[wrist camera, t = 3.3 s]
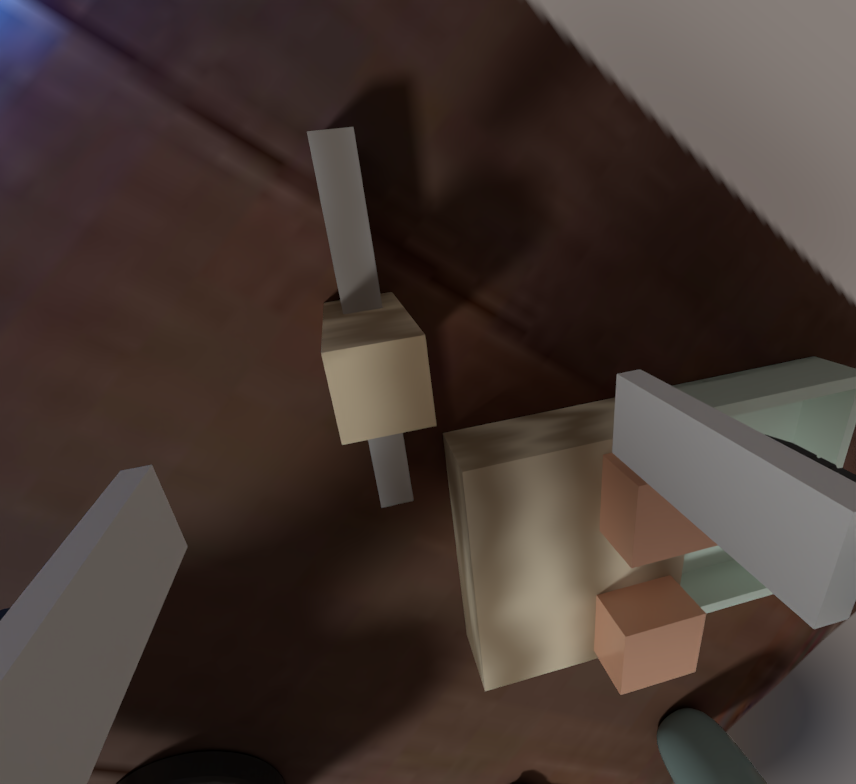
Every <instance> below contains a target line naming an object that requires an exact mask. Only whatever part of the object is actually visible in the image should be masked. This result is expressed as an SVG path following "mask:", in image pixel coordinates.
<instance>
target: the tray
mask: <svg viewBox="0 0 856 784" xmlns="http://www.w3.org/2000/svg"><path fill="white" fill-rule="evenodd" d="M673 387H675V388H677V389H679V390H681V391H682V392H684V393H686V394H688V395H690V396H692V397H694V398H696V399H698V400H700V401H701V402H703V403H705V404H707V405H709V406H711V407H713V408H715V409H717V410H719V411H721V412H722V413H724V414H726V415H728V416H730V417H732V418H734V419H736V420H738V421H740V422H741V423H743V424H745V425H747V426H749V427H751V428H753V429H755V430H757V431H759V432H761V433H762V434H764V435H769V436H772V437H775V438H778V439H782V440H785V441H788V442H791V443H794V444H796V445H798V446H800V447H802V448H804V449H806V450H808V451H810V452H812V453H814V454H816V455H817V458H823V459H825V460H827V461H829V462H831V463H833V464H835V465H836V467H837V468H842V467H843V464H844V461H845V457H846V454H847V451H848V447H849V444H850V441H851V437H852V434H853V431H854V428H855V424H856V369H855V368H852V367H848V366H845V365H842V364H838V363H835V362H832V361H828V360H825V359H822V358H818V357H815V356H813V357H808V358H803V359H798V360H794V361H789V362H784V363H779V364H774V365H769V366H765V367H760V368H755V369H750V370H745V371H740V372H736V373H731V374H726V375H721V376H716V377H711V378H707V379H702V380H697V381H692V382H687V383H682V384H678V385H673ZM680 586H681V587H682V588H683V589H684V590H685V591H686V592H687V593H688V595H689V596H690V597H691V598H692V599H693V600H694V601H695V602H696V603H697V604H698V605H699V606H700V607H701V608H702V610H703V611H704V612H705V613H709V612H713V611H716V610H720V609H723V608H727V607H730V606H733V605H737V604H740V603H744V602H747V601H751V600H754V599H758V598H761V597H764V596H768V595H771V594H773V593H772V592H771V591H770V590H769V589H767V588H766V587H765V586H764V585H763V584H762V583H761V582H759V581H758V580H757V579H756V578H755V577H754V576H753V575H751V574H750V573H749V572H748V571H747V570H746V569H745V568H743V567H742V566H741V565H740V564H739V563H738V562H737V561H735V560H734V559H733V558H732V557H731V556H730V555H729V554H727V553H726V552H725V551H724V550H723V549H722V548H721V547H719V546H718V545H717V546H714V547H710V548H706V549H702V550H699V551H695V552H691V553H687V554H685V556H684V562H683V569H682V576H681V583H680Z"/></svg>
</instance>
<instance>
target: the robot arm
mask: <svg viewBox="0 0 856 784" xmlns="http://www.w3.org/2000/svg"><path fill="white" fill-rule="evenodd" d="M612 453H613V454H614V455H615V456H617V457H618V458H619V459H620V460H621V461H622V462H623V463H625V464H626V465H627V466H628V467H629V468H630V469H631V470H633V471H634V472H635V473H636V474H637V475H638V476H639V477H641V478H642V479H643V480H644V481H645V482H646V483H647V484H649V485H650V486H651V487H652V488H653V489H654V490H655V491H657V492H658V493H659V494H660V495H661V496H662V497H663V498H665V499H666V500H667V501H668V502H669V503H670V504H671V505H673V506H674V507H675V508H676V509H677V510H678V511H679V512H681V513H682V514H683V515H684V516H685V517H686V518H687V519H689V520H690V521H691V522H692V523H693V524H694V525H695V526H697V527H698V528H699V529H700V530H701V531H702V532H703V533H705V534H706V535H707V536H708V537H709V538H710V539H711V540H713V541H714V542H715V543H716V544H717V545H718V546H719V547H721V548H722V549H723V550H724V551H725V552H726V553H727V554H729V555H730V556H731V557H732V558H733V559H734V560H735V561H737V562H738V563H739V564H740V565H741V566H742V567H743V568H745V569H746V570H747V571H748V572H749V573H750V574H751V575H753V576H754V577H755V578H756V579H757V580H758V581H759V582H761V583H762V584H763V585H764V586H765V587H766V588H767V589H769V590H770V591H771V592H772V593H773V594H774V595H775V596H777V597H778V598H779V599H780V600H781V601H782V602H784V603H785V604H786V605H787V606H788V607H789V608H790V609H792V610H793V611H794V612H795V613H796V614H797V615H798V616H800V617H801V618H802V619H803V620H804V621H805V622H806V623H808V624H809V625H810V626H811V627H812V628H813V629H816V628H820V627H823V626H826V625H830V624H833V623H836V622H840V621H843V620H846V619H849V616H850V613H851V611H852V608H853V605H854V603H855V600H856V475H855V474H853V473H851V472H849V471H847V470H845V469H843V468H837V467H836V465H835V464H833V463H831V462H829V461H827V460H825V459H823V458H817V455H816V454H814V453H812V452H810V451H808V450H806V449H804V448H802V447H800V446H798V445H796V444H794V443H791V442H788V441H785V440H782V439H778V438H775V437H772V436H769V435H764V434H762V433H761V432H759V431H757V430H755V429H753V428H751V427H749V426H747V425H745V424H743V423H741V422H740V421H738V420H736V419H734V418H732V417H730V416H728V415H726V414H724V413H722V412H721V411H719V410H717V409H715V408H713V407H711V406H709V405H707V404H705V403H703V402H701V401H700V400H698V399H696V398H694V397H692V396H690V395H688V394H686V393H684V392H682V391H681V390H679V389H677V388H675V387H673V386H671V385H669V384H667V383H665V382H663V381H661V380H660V379H658V378H656V377H654V376H652V375H650V374H648V373H646V372H644V371H642V370H641V369H639V370H634V371H629V372H624V373H618V374H617V378H616V395H615V412H614V428H613V445H612ZM187 547H188V546H187V544H186V542H185V539H184V537H183V535H182V532H181V530H180V528H179V526H178V523H177V521H176V519H175V516H174V514H173V512H172V510H171V507H170V505H169V503H168V500H167V498H166V496H165V494H164V491H163V489H162V487H161V484H160V482H159V480H158V478H157V475H156V473H155V471H154V468H153V466H152V465H148V466H143V467H138V468H133V469H128V470H123V471H120V472H119V473H118V474H117V476H116V477H115V478H114V479H113V481H112V482H111V483H110V484H109V486H108V487H107V488H106V489H105V491H104V492H103V493H102V494H101V496H100V497H99V498H98V499H97V501H96V502H95V503H94V504H93V506H92V507H91V508H90V509H89V511H88V512H87V513H86V514H85V516H84V517H83V518H82V519H81V521H80V522H79V523H78V524H77V526H76V527H75V528H74V529H73V531H72V532H71V533H70V534H69V536H68V537H67V538H66V539H65V541H64V542H63V543H62V544H61V546H60V547H59V548H58V549H57V551H56V552H55V553H54V554H53V556H52V557H51V558H50V559H49V561H48V562H47V563H46V564H45V566H44V567H43V568H42V569H41V571H40V572H39V573H38V574H37V576H36V577H35V578H34V579H33V581H32V582H31V583H30V584H29V586H28V587H27V588H26V589H25V591H24V592H23V593H22V594H21V596H20V597H19V598H18V599H17V601H16V602H15V603H14V604H13V605H12V607H11V608H7V609H3V610H0V784H87V782H88V780H89V778H90V775H91V773H92V771H93V768H94V766H95V764H96V761H97V759H98V757H99V754H100V752H101V749H102V747H103V745H104V742H105V740H106V738H107V735H108V733H109V731H110V728H111V726H112V724H113V721H114V719H115V716H116V714H117V712H118V709H119V707H120V705H121V702H122V700H123V698H124V695H125V693H126V691H127V688H128V686H129V683H130V681H131V679H132V676H133V674H134V672H135V669H136V667H137V665H138V662H139V660H140V658H141V655H142V653H143V650H144V648H145V646H146V643H147V641H148V639H149V636H150V634H151V632H152V629H153V627H154V625H155V622H156V620H157V618H158V615H159V613H160V610H161V608H162V606H163V603H164V601H165V599H166V596H167V594H168V592H169V589H170V587H171V585H172V582H173V580H174V577H175V575H176V573H177V570H178V568H179V566H180V563H181V561H182V559H183V556H184V554H185V552H186V549H187ZM118 784H285V782H284V780H283V778H282V777H281V775H280V774H279V773H278V771H276V770H275V769H274V768H273V767H272V766H270V765H269V764H267V763H266V762H264V761H262V760H259V759H257V758H254V757H251V756H248V755H244V754H239V753H233V752H222V751H207V752H195V753H188V754H182V755H177V756H173V757H169V758H166V759H163V760H159V761H157V762H154V763H152V764H149V765H147V766H145V767H143V768H140V769H139V770H137V771H135V772H133V773H132V774H130V775H128V776H127V777H125V778H124V779H123V780H121V781H120V782H119V783H118Z"/></svg>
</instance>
